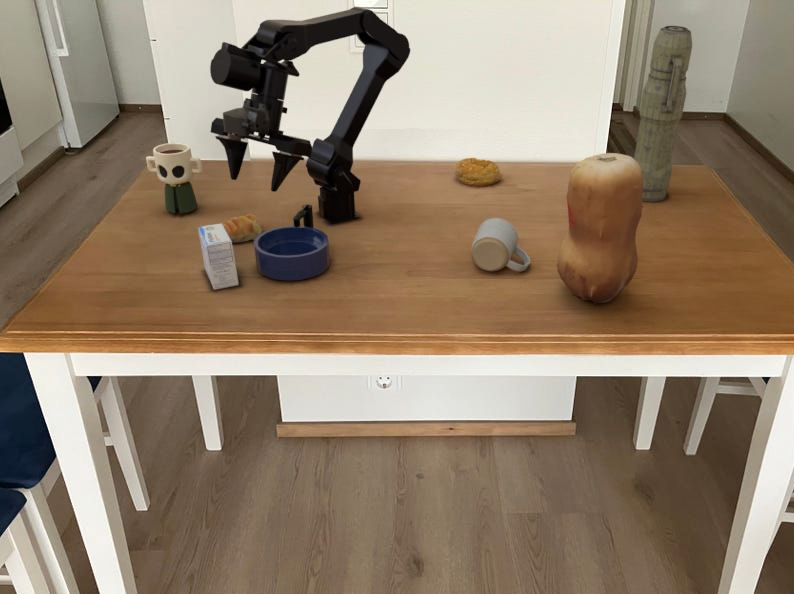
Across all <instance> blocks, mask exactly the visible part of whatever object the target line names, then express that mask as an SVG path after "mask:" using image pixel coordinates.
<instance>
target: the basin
mask: <svg viewBox="0 0 794 594" xmlns="http://www.w3.org/2000/svg"><path fill="white" fill-rule="evenodd" d="M253 246H254V247H253V249H254V256H255V264H256V269H257V270H258V272H259V273H260V274H261V275H262V276H265V277H267V278H269V279H274V280H277V281H278V280H279V281H290V282H291V281H301V280H306V279H309V278H314V277H316V276H319V275H321V274H323V273H324V272H325V271H327V270H328V268H329V266H330V264H331V255H330V242H329V237H328V235H327V234H326V233H325V232H324V231H322V230H320V229H318V228H316V227H314V228H311V227H306V226H304V225H301V226H300V227H294V225H288V226H287V225H285V226H279V227H275V228H271V229H268V230H266V231H262V234H260V235H259V236H257V238H256V239H254V240H253Z"/></svg>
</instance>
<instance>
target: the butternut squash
mask: <svg viewBox="0 0 794 594" xmlns="http://www.w3.org/2000/svg"><path fill="white" fill-rule="evenodd" d="M570 171H571V172H570V175H569V181H568V184H567V191H566V205H567V217H568V218H567V219H568V230H567V232H566V235H565V236H564V238H563V240H562V242H561V245H560V248H559V251H558V255H557V261H556V268H557V273H558V275H559V277H560V279H561V281H562V283H563V284H564V285H565V288H567V290H569V291H570V293H571V294H572V295H573V296H576V297H577V298H579V299H581V300H582V301H592V302H593V303H594V304H605V303H609V302H612V301H613V300H614V299H615V298H616V297H617V296H618V295H619V294H621V292H622V291H623V290H624V289H625V288H626V287H627V286H628V285H629V284H630V283H631V281H633V278H634V276H635V274H636V272H637V268H638V264H639V263H638V261H639V256H638V250H637V249H638V248H637V245H636V244H637V243H636V235H637V230H638V225H639V223H640V220H641V218H642V216H643V215H642V213H643V206H644V205H643V201H642V199H643V174H642V170H641V167H640V165H639V164H638V162H637V161H636V160H635V159H634V157H632V156H630V155H627V154H623V153H616V152H606V153H598V154H595V155H592V156H588V157H585V158H584V159H582V160H581V161H578V162H577V163H576V164H575V165H574V167H572V169H571V170H570Z"/></svg>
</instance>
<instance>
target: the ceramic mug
mask: <svg viewBox="0 0 794 594" xmlns="http://www.w3.org/2000/svg"><path fill="white" fill-rule="evenodd" d="M518 243H519V236H518V232H517V230H516V228H515V226H514V225H512V223H510V222H509V221H507V220H506V219H504V218H499V217H492V218H489V219H486V220H484V221H483V222H482V223H481V224H480V225H479V227H478V230H477V232H476V235H475V238H474V240H473V241H472V244H471V250H470V252H471V253H470V254H471V258H472V261H473V262H474V264H475V265H476V266H477V267H478V268H479V269H481V270H483V271H484V272H485V271H486V272H497V271H501V270H502V269H503V268H505V267H507V269H510V270H512V271H514V272H525V271H526V270H527V269H528V267H529V266H530V264H531V258H530V255H529V254H528V253H527V252H526V251H525V250H524V249H522V248H521V247H520V246H518ZM514 254H515V255H516V256H517V257H519V258H520V259H521V261H523V263H524V264H521V263H517V262H515V261H514V260H511V259H512V256H513V255H514Z"/></svg>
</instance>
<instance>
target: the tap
mask: <svg viewBox="0 0 794 594" xmlns="http://www.w3.org/2000/svg"><path fill="white" fill-rule="evenodd" d="M313 213H314V212H313V205H312V204H310V203H309V204H303V205H302V206H301V209H300V210H299V211H298V212H297V213H295V215H293V218H292V221H293V226H294V227H300V226H302V225H301V220H302V221H303V226H306V227H311V228H315V227H314V214H313Z"/></svg>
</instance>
